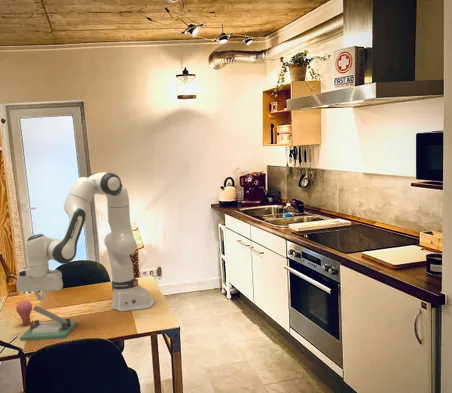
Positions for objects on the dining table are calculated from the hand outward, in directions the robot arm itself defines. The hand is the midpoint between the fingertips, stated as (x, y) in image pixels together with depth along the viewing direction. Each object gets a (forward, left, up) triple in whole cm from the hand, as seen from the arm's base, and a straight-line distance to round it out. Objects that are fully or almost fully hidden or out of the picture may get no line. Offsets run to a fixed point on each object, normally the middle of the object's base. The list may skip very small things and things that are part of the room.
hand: (41, 299), depth 210 cm
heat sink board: (-2, 0, -16) cm, 16 cm away
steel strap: (-3, 0, -8) cm, 9 cm away
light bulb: (+14, -11, -16) cm, 24 cm away
